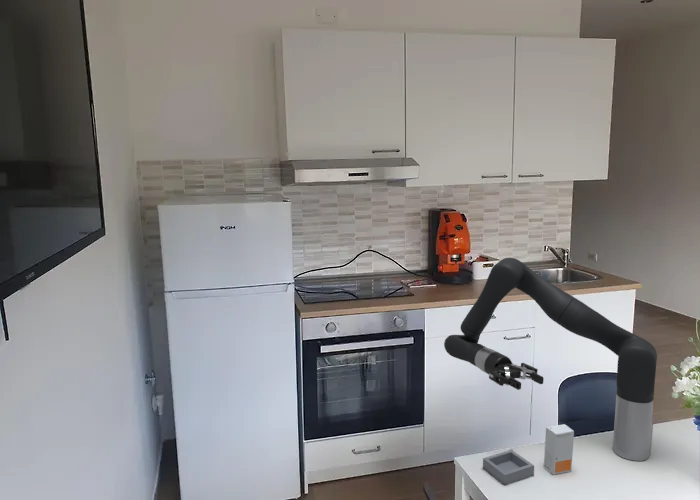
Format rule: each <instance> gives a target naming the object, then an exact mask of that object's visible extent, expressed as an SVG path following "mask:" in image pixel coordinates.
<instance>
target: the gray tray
mask: <svg viewBox="0 0 700 500" xmlns="http://www.w3.org/2000/svg"><path fill="white" fill-rule="evenodd" d="M482 469H483V470H484V471H486V472H487V473H488V474H489V475H490V476H492V477H493V478H494V479H496V480H497V481H498V482H499V483H500V484H502V485H503V486H508V485H510V484H513V483H516V482H519V481H522V480H523V481H524V480H526V479H529V478H532V477H534V475H535V465H534V464H533V463H531V462H530V461H529V460H527V459H526V458H524V457H523V456H521V455H520V454H519V453H517V452H516V451H514V450H513V449H508V450H507V451H506V450H505V451H503V452H499V453H496V454H492V455H490V456H486V457H483V458H482Z"/></svg>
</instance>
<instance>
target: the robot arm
mask: <svg viewBox="0 0 700 500" xmlns="http://www.w3.org/2000/svg"><path fill="white" fill-rule="evenodd" d="M488 274H489V275H488V277H487V280H486V282H485V285H484V287H483V289H482V291H481V293H480V294H479V296H478V298H477V300H476V301H475V303H474V304H473V305H472V307H471V308H470V310H469V311H468V313H467V314H466V316H465V318H463V321H462V322H461V324H460V331H461V332H462V334H451V335H448V336H447V337H446V338H445V340H444V342H443V346H444V350H445V352H446V353H447V354H448V356H451V357H453V358H456V359H458V360H461V361H465V362H466V363H467V362H468V363H470V364H471V365H473V366H475V367H476V368H478V369H479V370H480V371H482V372H484V373H485V374H487V375H488V379H489V380H490V381H492V382H494V383H496V384H497V385H499V386H502V387H503V386H505V385H506V386H510V387H512V388H513V389H516V390H517V391H520V390H521V389H522V382H521V381H519V380H526V379H527V380H532V381H533V382H535V383H537V384H539V385H543V384H544V377H543V375H540V374H539V373H538V368H537V367H534V366H532V365H529V364H527V363H525V362H521V363H520V365H517V364H514V363H513V362H512V360H511V358H510V357H509V356H507V355H505V354H502V353H501V352H499V351H496V350H494V349H492V348H490V347H489V348H488V347H486V346H484V345H482V344H481V343H479V340H480V337H481V334H482V333H483V331H484V330H485V329H486V327H487V325H488V324H489V322H490V321H491V319H492V316H493V315H494V312H495V310H496V308H497V307H498V305H499V304H500V302H501V301H502V300H503V299H504V298H505V297H506V296H507V295H508V294H509V293H510V292H511V291H512V290H515V289H517V290H519V291H521V292H522V293H524V294H526V295H527V296H528V297H530V298H531V299H533V301H535V303H536V304H537V305H538V306H539V308H540V309H541V310H542V311H543V313H544V314H545V315H546V316H547V317H548V318H549V319H551V321H554V322H555V323H556V324H557V325H559V326H561V327H562V328H563V329H565V330H567V331H569V332H571V333H573V334H575V335H577V336H579V337H582V338H585V339H587V340H588V339H589V340H591V341H593V342H596V343H597V344H600V345H602V346H604V347H605V348H607V349H608V350H610V351H611V352H612V353H613V354H614V355H616V356H617V365H616V367H617V371H616V393H615V395H616V396H615V411H614V422H613V423H614V425H613V439H612V440H613V441H612V450H613V452H614V453H615V454H616V455H617V456H619V457H620V458H623V459H626V460H629V461H638V462H642V461H646V460H648V459H649V457H650V454H652V446H653V444H652V443H653V442H652V441H653V431H654V423H653V408H654V399H655V398H654V397H655V384H656V373H657V372H656V370H657V362H658V361H657V360H658V353H657V350H656V348H655V347H654V345H653V344H652V343H651V342H650V341H648V340H647V339H645V338H643V337H641V336H639V335H637V334H634V333H633V332H631V331H629V330H627V329H625V328H623V327H621V326H619V325H617V324H615V323H614V322H612V321H611V320H610V319H608V318H607V317H605V315H602V314H601V313H599V312H597V311H596V310H595V309H593V308H592V307H590V306H588V305H587V304H585V302H583V301H581V300H580V299H578V298H577V297H574V296H573V295H571V294H570V293H567V292H566V291H565V290H562V289H561V288H560V287H558V286H556V285H554V284H553V283H551V282H549V281H548V280H546V279H545V278H543V277H542V276H540V275H539V274H537V273H536V272H535V271H534V270H533V269H531V268H530V267H528V266H527V265H526V264H525V263H524V262H522V261H520V260H519V259H517V258H514V257H505V258H502V259H501V260H499V261H498V262H497V263H495V264H494V265H493V267H491V269H490V273H488ZM517 379H519V380H517Z"/></svg>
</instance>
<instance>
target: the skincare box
mask: <svg viewBox="0 0 700 500" xmlns="http://www.w3.org/2000/svg"><path fill="white" fill-rule="evenodd" d="M574 437H575V431H574V430H573V429H572V428H570V426H568V425H566V424H564V423H563V424H556V425H555V424H554V425H551V426H546V427H545V441H544V458H543V467H544V468H545V469H546V470H547V471H548V472H550V474H551V475H558V474H563V473H564V474H565V473H569V472H572V468H573V464H572V463H573V453H574V452H573V451H574Z"/></svg>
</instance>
